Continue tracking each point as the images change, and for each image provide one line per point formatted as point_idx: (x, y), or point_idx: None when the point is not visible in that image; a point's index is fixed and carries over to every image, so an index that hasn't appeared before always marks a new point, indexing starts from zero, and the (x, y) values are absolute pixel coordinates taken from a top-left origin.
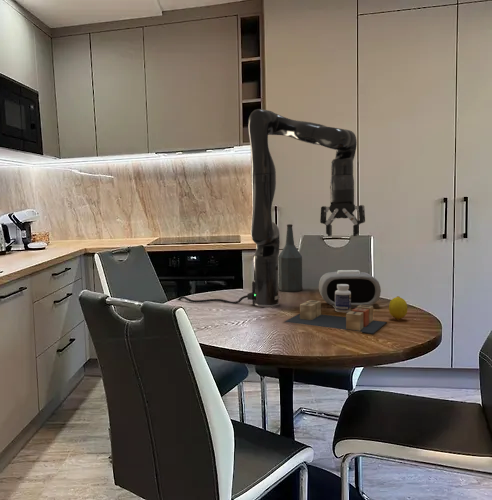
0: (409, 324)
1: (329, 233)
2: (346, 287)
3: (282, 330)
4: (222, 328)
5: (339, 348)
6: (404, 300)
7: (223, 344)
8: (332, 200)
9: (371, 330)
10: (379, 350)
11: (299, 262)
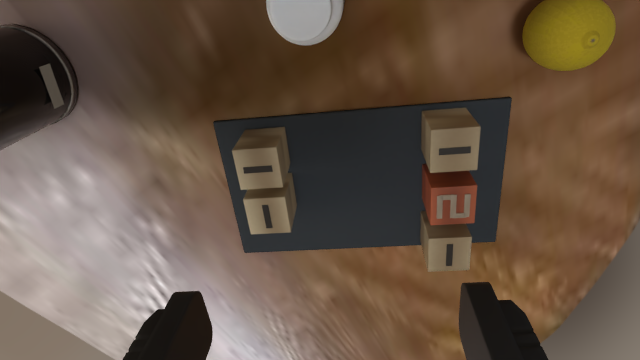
0: (587, 70)
1: (203, 357)
2: (327, 25)
3: (285, 308)
4: None
5: (450, 356)
6: (613, 34)
7: None
8: None
9: (485, 220)
10: None
11: None
